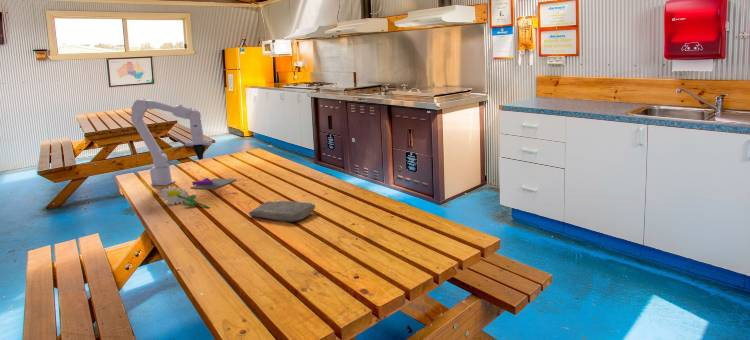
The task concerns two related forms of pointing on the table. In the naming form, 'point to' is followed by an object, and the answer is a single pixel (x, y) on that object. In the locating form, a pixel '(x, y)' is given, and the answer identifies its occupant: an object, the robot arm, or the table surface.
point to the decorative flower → (178, 196)
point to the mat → (214, 184)
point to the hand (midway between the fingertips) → (200, 159)
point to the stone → (283, 210)
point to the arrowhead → (203, 182)
